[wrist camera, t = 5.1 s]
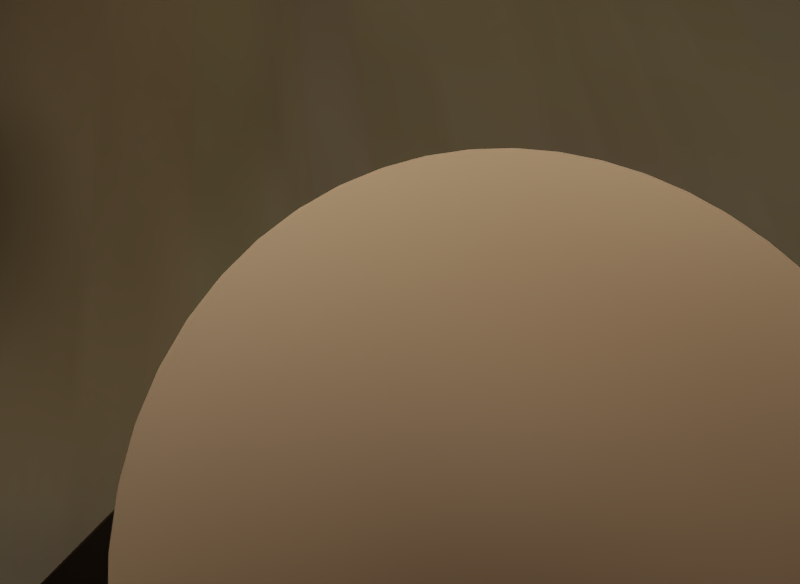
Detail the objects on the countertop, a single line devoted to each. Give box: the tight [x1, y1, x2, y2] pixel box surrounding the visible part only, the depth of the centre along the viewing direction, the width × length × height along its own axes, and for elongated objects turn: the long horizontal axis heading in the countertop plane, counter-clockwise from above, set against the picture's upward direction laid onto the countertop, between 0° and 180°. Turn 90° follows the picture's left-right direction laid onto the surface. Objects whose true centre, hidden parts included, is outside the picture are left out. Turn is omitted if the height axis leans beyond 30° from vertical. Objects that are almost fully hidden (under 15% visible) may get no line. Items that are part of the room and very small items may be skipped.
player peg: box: [108, 148, 800, 584], centre depth 9 cm, size 4×4×13 cm
